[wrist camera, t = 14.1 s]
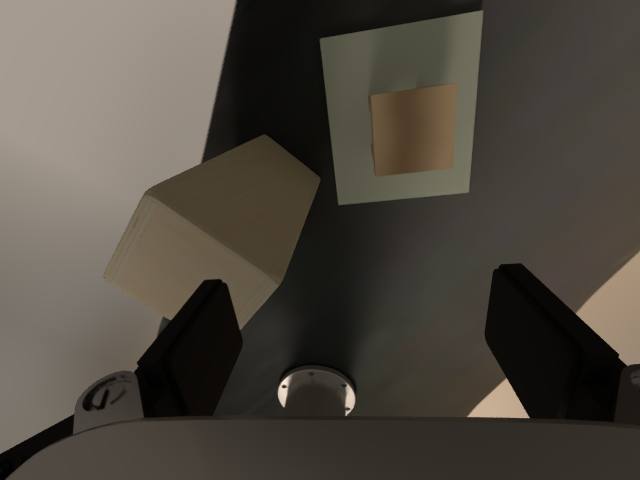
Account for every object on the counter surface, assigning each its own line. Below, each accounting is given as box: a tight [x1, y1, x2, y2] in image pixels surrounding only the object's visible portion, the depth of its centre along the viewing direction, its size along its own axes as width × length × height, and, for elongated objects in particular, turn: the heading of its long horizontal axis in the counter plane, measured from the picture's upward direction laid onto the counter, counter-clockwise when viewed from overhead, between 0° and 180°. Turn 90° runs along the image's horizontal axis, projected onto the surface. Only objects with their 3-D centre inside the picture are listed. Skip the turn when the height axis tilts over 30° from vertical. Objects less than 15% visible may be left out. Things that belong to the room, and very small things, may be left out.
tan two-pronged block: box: [368, 83, 458, 177], centre depth 26 cm, size 6×6×8 cm
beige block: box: [104, 134, 321, 330], centre depth 25 cm, size 8×7×21 cm
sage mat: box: [320, 10, 483, 205], centre depth 30 cm, size 16×14×1 cm
